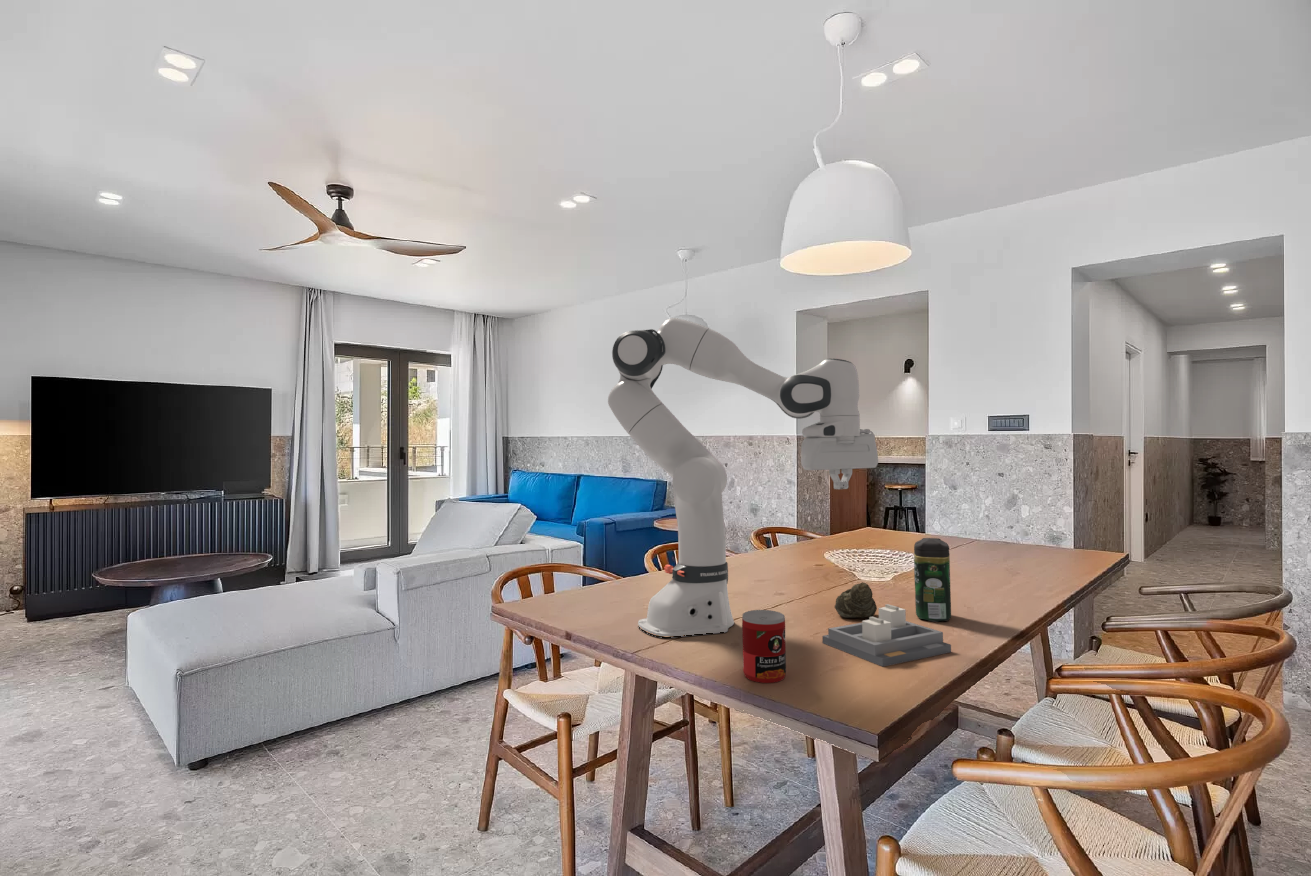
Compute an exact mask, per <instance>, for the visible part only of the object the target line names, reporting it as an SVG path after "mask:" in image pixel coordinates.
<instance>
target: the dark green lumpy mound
mask: <svg viewBox="0 0 1311 876" xmlns="http://www.w3.org/2000/svg"><path fill="white" fill-rule="evenodd" d="M873 594H874V593H873V591H872V588H871V587H870V585H869V584H868V583H866V582H860V583H855V584H854V585H852V587H851V588H848V589H846V590H844V591H842V592H841V593H840V594H839V595H838V596H837V597H836V599H835V605H834V609H835V610H836V612H837V614H838V615H839V616H840V617H842V618H846V619H850V618H851V619H856V618H861V619H864V618H868V619H869V617H875V614H876V612H877V611H878V609H877V608H878V607H877V603H876V600H875V599H874V598H873Z"/></svg>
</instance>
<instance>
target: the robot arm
mask: <svg viewBox="0 0 1311 876" xmlns="http://www.w3.org/2000/svg"><path fill="white" fill-rule="evenodd" d="M611 354H612V361H613V365H614V366H615V367H616V368H617V371H618V373H619V374H620V375H619V381H618V383H616V384H615V385H614V386H613V387H612V389H611V390H610V392H609V394H608V397H607V403H608V406H609V408H610V410H611V411H612V414H613V415H614V416H615V418H616V420H617V421H618V422H619V424H620V425H621V426H622V428H623V429H624V430H625V431H626V433H627V434H628V435H629V436H630V437H631V438H632V439H633V441H634V442H635V443H636V444H637V445H638V446H639V448H640V449H641V450H642V451H643V452H644V453H645V454H646V455H647V457H649V459H650V460H651V461H653V462H654V463H656V465H658V466H659V467H660V468H661V469H662V470H663V471H664V472H666V473H667V475H669V476H670V477H671V478H672V482H671V483H672V489H673V498H674V499H673V500H674V509H675V516H676V523H677V537H678V541H677V542H678V562H677V563H676V565H674V566H673V565H670V564H665V566H664V567H663V572H664V573H665V574H669V575H671V576H672V577H671V578H672V579H671V580H670V581H669V582H668V583H666V585H664V586H663V588H661V589H660V590H659V591H658V592H657V593H655V594H654V595H653V596H652V597H651V598H650V599H649V602H648V607H647V615H646V618H641V619H638V622H637V626H638V625H639V627H641V628H642V629H643V630H645V631H648V632H650V633H653V634H656V635H659V636H681V637H687V636H686V635H692V636H695V635H694V634H703V635H707V634H706V633H713V634H721V633H720V632H724V633H727V632H728V631H729V629H730V627H732V626H733V625H734V624H735V620H734V618H733V613H732V610H731V606H730V599H729V593H728V584H729V583H728V582H729V563H728V562H727V555H726V553H727V552H726V551H727V550H726V548H727V545H726V544H727V543H726V542H727V541H726V526H725V516H724V507H723V506H724V505H723V494H722V493H723V492H725V491H724V490H725V489H726V487H727V482H728V475H727V471H726V468H725V467H724V465H723V464H722V463H721V462H720V461H719V459H718V458H716V456H715V455H713V454H712V452H711V451H710V450H709V449H707V447H706V446H705V445H703V443H702V442H701V441H699V439H697V438H696V437H695V436H694V435H693V434H692V433H691V432H690V431H689V430H688V429H687V428H686V426H684V425H683V424H682V422H681V421H680V420H679V419H678V418H677V417H676V416H675V415H674V413H673V412H672V411H670V409H669V408H668V407H667V406H666V405H665V404H664V403H663V402H662V401H661V399H659V397H658V396H657V395H656V394H655V393H654V391H653V389H652V388H653V387H654V385H655V383H656V382H657V381H658V379H659V377H660V375H661V373H662V371H663V368H664V366H665V365H675V366H680V367H682V368H684V369H686V370H688V371H690V372H692V373H694V374H697V375H699V376H702V377H705V378H708V379H712V380H717V381H721V382H726V383H731V384H736V385H739V386H741V387H744V388H746V389H749V390H751V391H753V392H755V393H756V394H758V395H761V396H763V397H765V398H768V399H770V400H771V401H772V402H774V403H775V404H776V405H777V406H778V407H779V408H780V409H781V411H782V412H783V413H784V414H785V415H786V416H788V417H790V418H793V419H797V420H798V419H800V420H801V419H806V418H809V417H811V416H812V415H813V414H814V413H819V417H820V418H819V419H820V420H819V421H817V422H815V423H813V424H811V425H808V426H804V427H803V428H802V432H801V435H802V437H803V438H804V439H803V440H802V442H801V446H800V464H801V467H802V468H803V470H804V471H822V470H823V471H825V470H827V471H828V473H829V474H828V475H829V476H830V478H831V480H832V482H833V489H834V490H847V489H849V481H850V479H851V477H852V475H853V469H854V470H855V469H875V468H877V467H878V464H879V454H878V448H877V442H876V435H875V434H874V433H873V431H871V429H869V428H864V429H861V422H860V421H861V419H860V418H861V417H860V410H859V406H858V405H859V404H858V403H859V399H860V383H859V375H858V370H857V368H856V366H855V364H853V362H851V361H849V360H846V359H841V358H826V359H823V360H822V361H821V362H820V363H818V364H817V365H815V366H813V367H812V368H810V369H808V370H804V371H802V372H799V373H797V374H793V375H790V377H788V376H787V377H786V376H782V375H780V374H778V373H776V372H774V371H771V370H770V369H767V368H765V367H763V366H760V365H759V364H757V363H755V362H754V361H752V360H750V358H748V357H747V356H746V355H745V354H744V353H743V352H742V350H741V349H740V348H739V347H738V346H737V344H736V343H734V341H732V340H730V339H729V338H728V337H726V336H725V335H724V334H722V333H719V332H718V331H716V330H714V329H712V328H709V327H707V326H705V325H701V324H699V323H696V322H693V321H691V320H687V319H682V318H679V317H677V318H676V317H669V318H668V319H666V320H665V321H664V322H662V323H661V325H660V326H659V328H658V330H657V331H656V330H655V329H652V328H651V329H641V330H638V329H637V330H629V331H625V332H623V333H622V334H620V335H619V336H618V337H617V338H616V340H615V341H614V342H613V345H612V351H611ZM840 474H842V476H841V479H840V476H839V475H840ZM639 627H638V628H639ZM683 635H685V636H683Z"/></svg>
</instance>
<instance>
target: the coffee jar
mask: <svg viewBox="0 0 1311 876" xmlns="http://www.w3.org/2000/svg"><path fill="white" fill-rule="evenodd" d="M913 548H914V549H913V550H914V551H913V553H914V554H913V561H914V562H913V570H914V571H913V572H914V573H913V574H914V575H913V576H914V593H915V594H914V597H915V599H914V600H915V601H914V602H915V605H914V606H915V614H916V616H917V618H919V619H920V620H926V621H929V622H934V623H936V622H942V621H946V622H947V621H949V620H950V619H951V617H952V601H951V600H952V599H951V597H952V596H951V595H952V593H951V563H950V562H951V561H950V554H951V553H950V546H949V543H947V542H946V541H944V540H942V539H941V538H937V537H936V538H935V537H931V538H930V537H923V538H921V539H920V540H917V541H916V542H915V543H914V545H913Z"/></svg>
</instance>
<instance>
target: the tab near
mask: <svg viewBox="0 0 1311 876" xmlns="http://www.w3.org/2000/svg"><path fill="white" fill-rule="evenodd" d="M861 623H862V639H865V640H868V641H871V642H873V643H876V642H881V641H886V640H891V622H888V621H885V620H882V619H879V617H875V616H873V617H869V618H868V619H865V620H862V621H861Z"/></svg>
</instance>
